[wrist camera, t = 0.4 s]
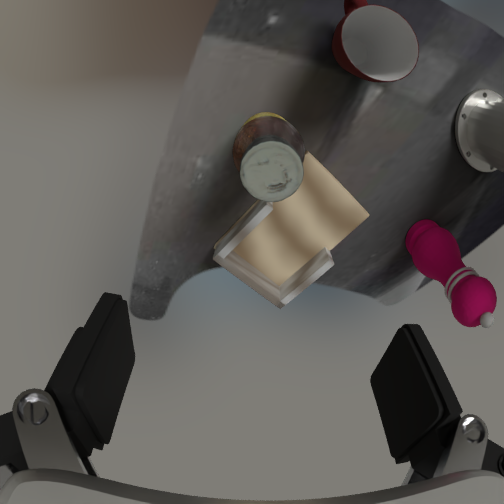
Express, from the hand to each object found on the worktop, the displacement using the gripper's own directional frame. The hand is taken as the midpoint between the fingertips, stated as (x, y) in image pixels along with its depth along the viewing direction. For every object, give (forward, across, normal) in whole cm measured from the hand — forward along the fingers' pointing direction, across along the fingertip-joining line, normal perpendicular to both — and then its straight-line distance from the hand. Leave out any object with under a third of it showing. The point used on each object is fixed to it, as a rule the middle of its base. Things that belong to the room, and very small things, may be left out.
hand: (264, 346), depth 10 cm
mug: (+31, -9, -16) cm, 36 cm away
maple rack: (+31, -6, +10) cm, 33 cm away
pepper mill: (+31, -27, +8) cm, 42 cm away
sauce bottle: (+32, -1, -2) cm, 32 cm away
